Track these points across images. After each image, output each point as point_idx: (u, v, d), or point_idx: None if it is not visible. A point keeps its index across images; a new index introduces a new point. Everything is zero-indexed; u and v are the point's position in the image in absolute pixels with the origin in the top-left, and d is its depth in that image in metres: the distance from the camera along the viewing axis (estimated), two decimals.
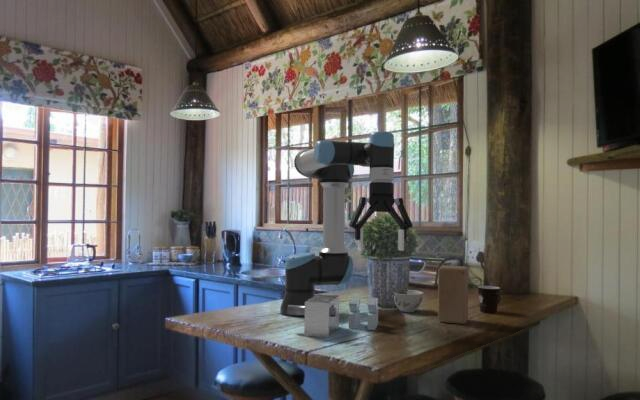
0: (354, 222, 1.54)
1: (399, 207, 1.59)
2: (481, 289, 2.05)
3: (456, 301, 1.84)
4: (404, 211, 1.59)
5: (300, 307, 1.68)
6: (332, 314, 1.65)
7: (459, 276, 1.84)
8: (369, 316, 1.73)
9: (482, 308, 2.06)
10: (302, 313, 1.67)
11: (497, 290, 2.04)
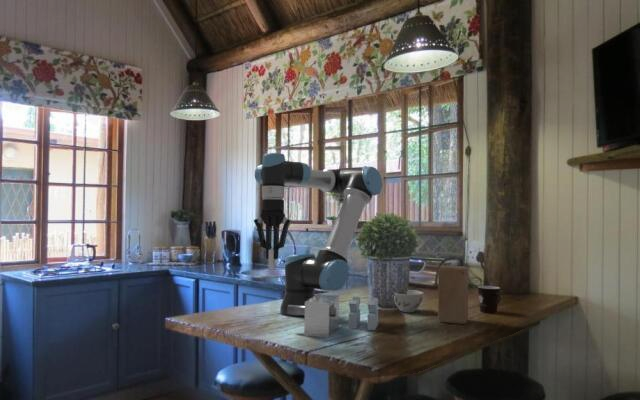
0: (261, 243, 1.71)
1: None
2: (481, 289, 2.05)
3: (456, 301, 1.84)
4: (283, 231, 1.70)
5: (300, 307, 1.68)
6: (332, 314, 1.65)
7: (459, 276, 1.84)
8: (369, 316, 1.73)
9: (482, 308, 2.06)
10: (302, 313, 1.67)
11: (497, 290, 2.04)
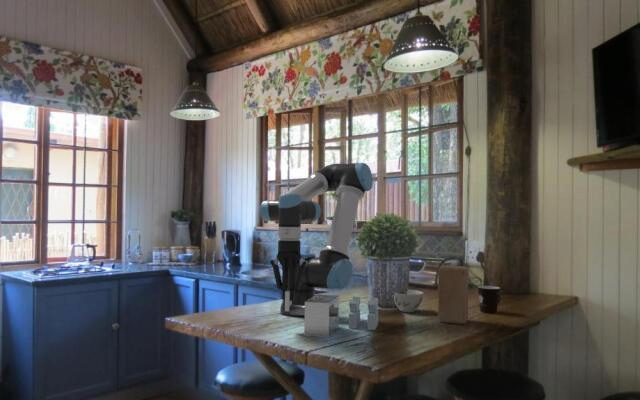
0: (277, 284, 1.70)
1: None
2: (481, 289, 2.05)
3: (456, 301, 1.84)
4: (299, 273, 1.68)
5: (302, 306, 1.68)
6: (334, 313, 1.65)
7: (459, 276, 1.84)
8: (369, 316, 1.73)
9: (482, 308, 2.06)
10: (304, 312, 1.67)
11: (497, 290, 2.04)
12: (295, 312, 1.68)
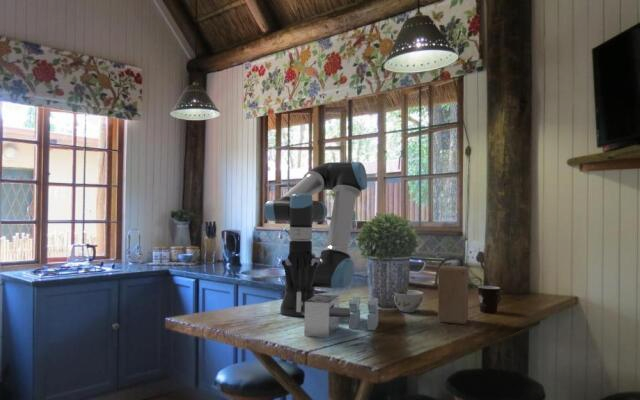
0: (289, 285, 1.69)
1: None
2: (481, 289, 2.05)
3: (456, 301, 1.84)
4: (311, 274, 1.67)
5: None
6: (346, 314, 1.64)
7: (459, 276, 1.84)
8: (369, 316, 1.73)
9: (482, 308, 2.06)
10: None
11: (497, 290, 2.04)
12: None
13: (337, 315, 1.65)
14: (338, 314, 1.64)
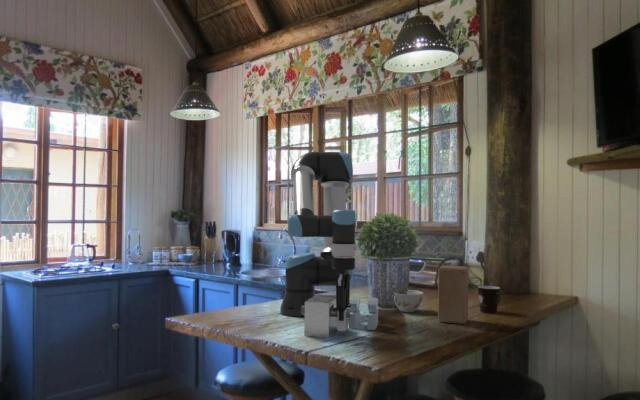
0: (343, 305, 1.61)
1: None
2: (481, 289, 2.05)
3: (456, 301, 1.84)
4: (349, 288, 1.70)
5: None
6: (346, 315, 1.64)
7: (459, 276, 1.84)
8: (369, 316, 1.73)
9: (482, 308, 2.06)
10: None
11: (497, 290, 2.04)
12: None
13: None
14: None
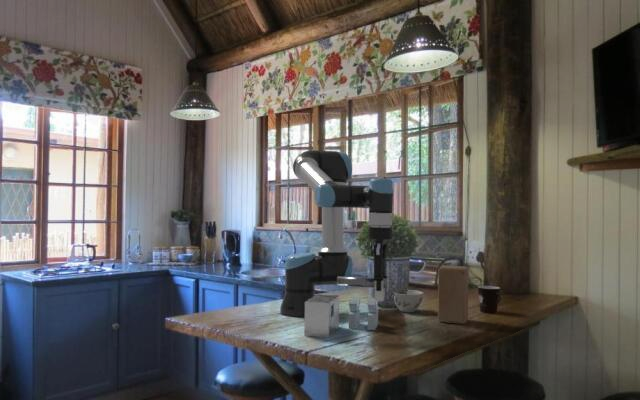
0: (382, 274, 1.58)
1: None
2: (481, 289, 2.05)
3: (456, 301, 1.84)
4: (385, 258, 1.68)
5: (350, 278, 1.64)
6: (384, 285, 1.61)
7: (459, 276, 1.84)
8: (369, 316, 1.73)
9: (482, 308, 2.06)
10: (352, 284, 1.64)
11: (497, 290, 2.04)
12: (343, 284, 1.65)
13: (374, 286, 1.62)
14: None
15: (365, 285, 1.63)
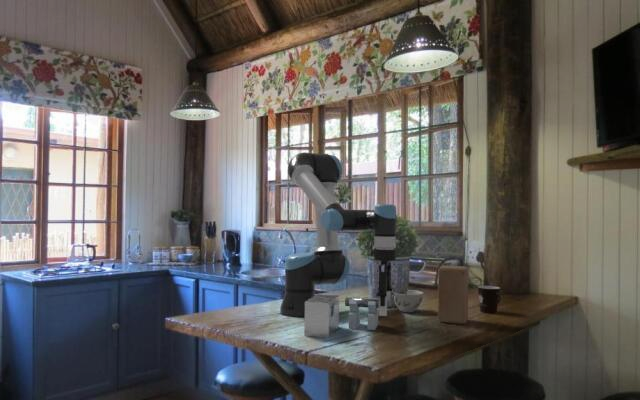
0: (385, 291, 1.68)
1: None
2: (481, 289, 2.05)
3: (456, 301, 1.84)
4: None
5: (357, 300, 1.77)
6: (389, 307, 1.74)
7: (459, 276, 1.84)
8: (369, 316, 1.73)
9: (482, 308, 2.06)
10: (359, 305, 1.77)
11: (497, 290, 2.04)
12: None
13: None
14: None
15: None
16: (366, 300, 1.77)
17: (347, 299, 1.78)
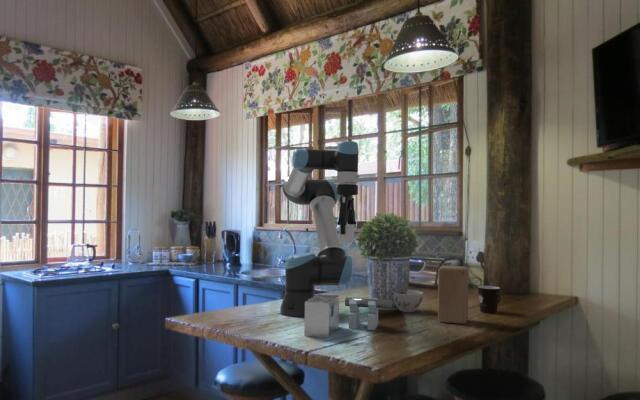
0: (345, 219, 1.75)
1: None
2: (481, 289, 2.05)
3: (456, 301, 1.84)
4: (353, 209, 1.91)
5: (357, 300, 1.77)
6: (389, 307, 1.74)
7: (459, 276, 1.84)
8: (369, 316, 1.73)
9: (482, 308, 2.06)
10: (359, 305, 1.77)
11: (497, 290, 2.04)
12: None
13: (380, 307, 1.76)
14: (381, 306, 1.75)
15: None
16: (366, 300, 1.77)
17: (347, 299, 1.78)
